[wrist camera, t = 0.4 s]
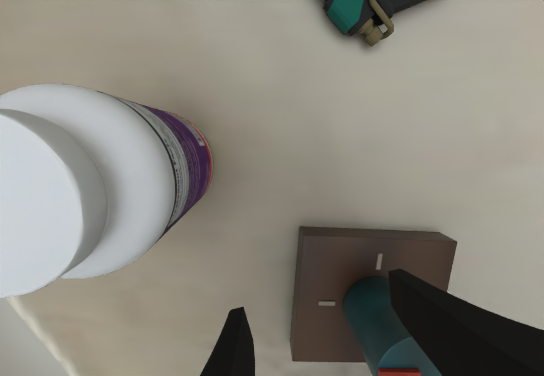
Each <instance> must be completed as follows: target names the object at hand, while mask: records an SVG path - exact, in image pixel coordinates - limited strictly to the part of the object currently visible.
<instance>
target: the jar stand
mask: <svg viewBox="0 0 544 376" xmlns="http://www.w3.org/2000/svg"><path fill="white" fill-rule="evenodd" d="M456 245H457V241H455V240H453V239H451V238H449V237H447V236H445V235H443V234H441V233H440V232H418V231H395V230H372V229H349V228H326V227H303V226H300V227H299V239H298V251H297V263H296V275H295V287H294V299H293V311H292V323H291V335H290V347H291V354H292V361H303V362H366V360H365V358H364V356H363V354H362V352H361V350H360V348H359V345H358V343H357V341H356V339H355V337H354V335H353V333H352V331H351V329H350V326H349V324H348V322H347V320H346V318H345V316H344V312H343V302H344V298H345V296H346V294H347V292H348V291H349V289H350V288H351V287H352V286H353V285H354V284H356V283H357V282H359V281H361V280H363V279H366V278H371V277H381V278H385V279H387V280H389V274H388V271H391V270H395V269H400V268H401V269H403V270H405V271H407V272H409V273H410V274H412V275H414V276H416V277H418V278H420V279H422V280H424V281H425V282H427V283H429V284H431V285H433V286H435V287H437V288H439V289H441V290H443V291H445V292H447V289H448V284H449V279H450V274H451V269H452V265H453V260H454V255H455V250H456Z"/></svg>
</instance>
